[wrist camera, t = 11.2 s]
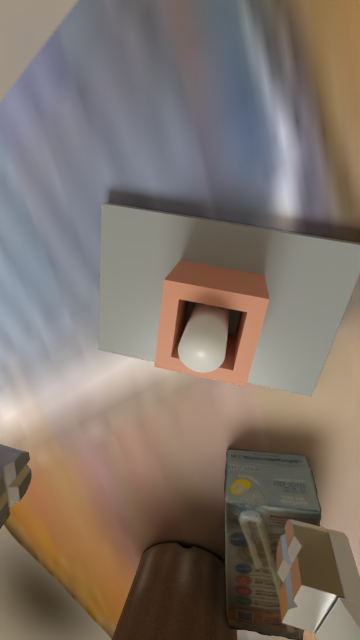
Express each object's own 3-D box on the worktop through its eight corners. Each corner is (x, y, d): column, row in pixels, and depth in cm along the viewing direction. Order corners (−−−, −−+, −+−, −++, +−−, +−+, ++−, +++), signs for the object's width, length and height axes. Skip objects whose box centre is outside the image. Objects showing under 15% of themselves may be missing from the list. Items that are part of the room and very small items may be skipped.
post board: (363, 243, 21) (429, 277, 13) (308, 387, 26) (333, 469, 18) (108, 202, 23) (42, 211, 15) (104, 343, 28) (53, 401, 20)
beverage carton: (312, 452, 29) (329, 522, 23) (296, 574, 36) (306, 651, 30) (225, 444, 30) (220, 508, 24) (227, 563, 38) (224, 634, 32)
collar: (264, 274, 22) (269, 299, 17) (245, 348, 24) (245, 387, 20) (180, 260, 22) (164, 279, 18) (170, 333, 25) (154, 366, 20)
